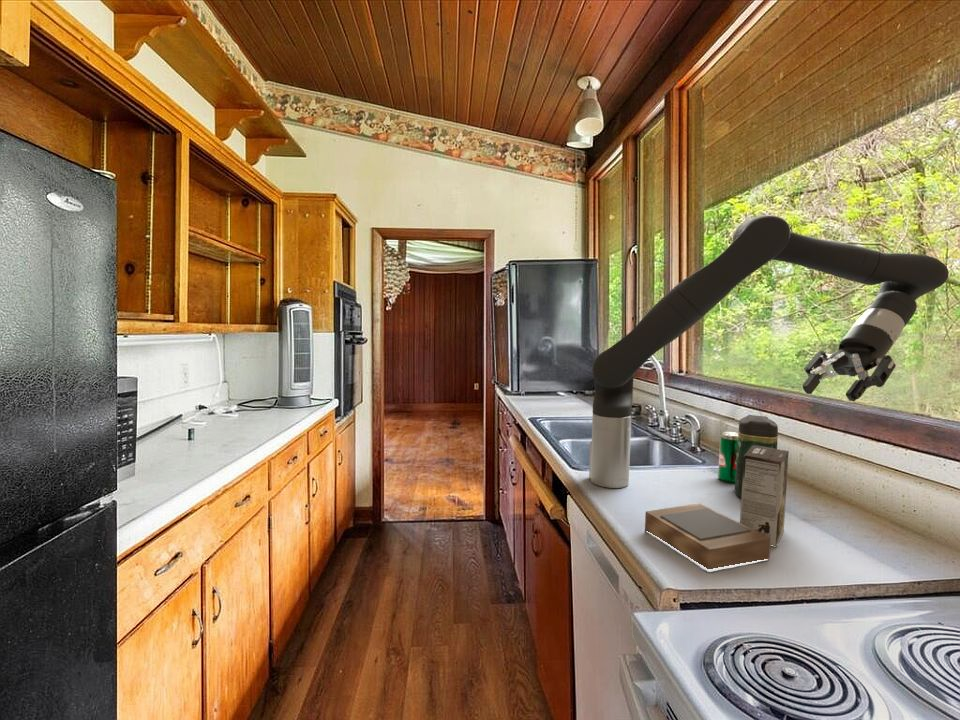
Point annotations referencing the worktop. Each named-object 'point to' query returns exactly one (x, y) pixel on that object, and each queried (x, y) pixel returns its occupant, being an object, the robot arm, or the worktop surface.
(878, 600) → the worktop surface
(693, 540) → the block
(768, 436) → the coffee jar
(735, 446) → the soda can
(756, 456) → the coffee box
